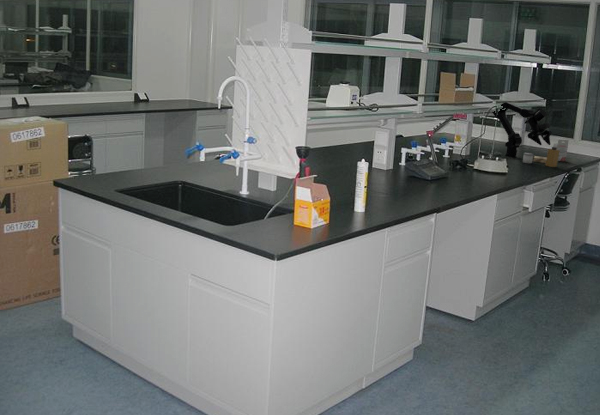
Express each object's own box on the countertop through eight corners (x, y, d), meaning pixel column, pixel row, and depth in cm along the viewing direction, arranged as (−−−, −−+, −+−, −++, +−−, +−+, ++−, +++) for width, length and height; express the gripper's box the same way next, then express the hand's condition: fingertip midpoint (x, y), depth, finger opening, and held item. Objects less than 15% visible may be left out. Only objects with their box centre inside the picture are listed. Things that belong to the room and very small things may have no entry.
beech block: (533, 161, 468) (533, 157, 467) (533, 160, 476) (534, 155, 475) (547, 164, 465) (547, 159, 464) (547, 162, 473) (548, 157, 472)
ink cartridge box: (560, 159, 486) (564, 139, 482) (565, 161, 481) (569, 140, 477) (550, 159, 483) (554, 138, 480) (554, 160, 479) (558, 139, 475)
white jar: (522, 162, 459) (523, 153, 458) (522, 161, 465) (524, 152, 463) (531, 163, 457) (533, 154, 456) (532, 162, 463) (533, 153, 461)
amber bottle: (545, 165, 456) (548, 146, 453) (550, 165, 459) (553, 146, 455) (551, 167, 452) (555, 148, 449) (556, 166, 455) (560, 148, 452)
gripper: (534, 118, 452) (545, 137, 446) (552, 118, 463) (563, 137, 457) (522, 128, 460) (533, 147, 454) (540, 128, 471) (550, 147, 465)
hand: (545, 144), depth 457 cm, fingers open, 9 cm apart
